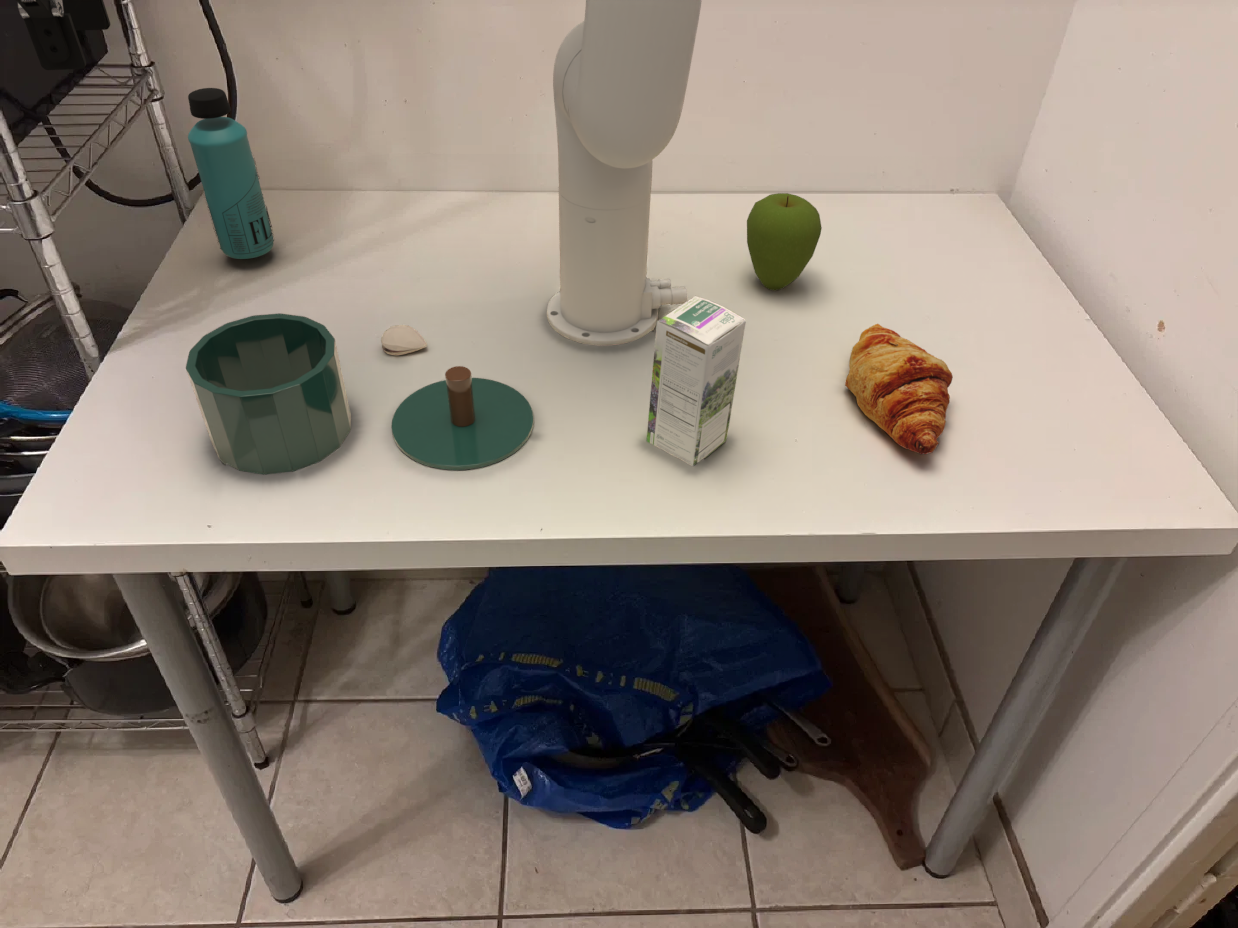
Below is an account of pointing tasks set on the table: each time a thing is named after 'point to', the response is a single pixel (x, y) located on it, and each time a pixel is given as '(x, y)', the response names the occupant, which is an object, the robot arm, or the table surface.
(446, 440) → the lid
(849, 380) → the croissant
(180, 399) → the table surface
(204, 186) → the beverage bottle
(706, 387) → the syrup box
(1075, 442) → the table surface
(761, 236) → the apple
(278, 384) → the canister
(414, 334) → the beige teardrop wedge
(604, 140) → the robot arm
